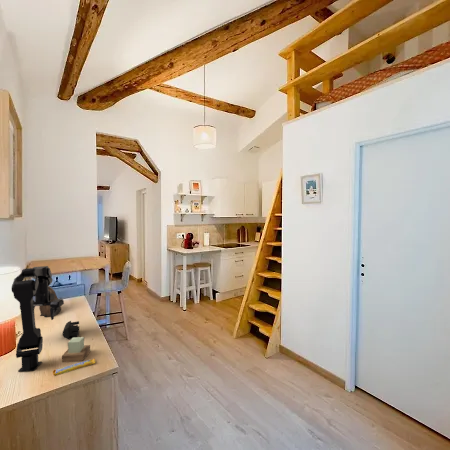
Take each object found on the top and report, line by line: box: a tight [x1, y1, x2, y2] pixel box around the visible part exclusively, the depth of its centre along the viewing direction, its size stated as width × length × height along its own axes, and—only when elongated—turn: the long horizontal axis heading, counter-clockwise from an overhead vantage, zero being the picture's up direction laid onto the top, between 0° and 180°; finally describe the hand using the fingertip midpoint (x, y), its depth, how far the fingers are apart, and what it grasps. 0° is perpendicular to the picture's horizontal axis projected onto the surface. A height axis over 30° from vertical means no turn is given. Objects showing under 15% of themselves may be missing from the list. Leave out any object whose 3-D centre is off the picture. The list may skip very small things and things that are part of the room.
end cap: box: [61, 320, 80, 340], centre depth 149 cm, size 10×7×7 cm
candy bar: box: [52, 358, 96, 376], centre depth 118 cm, size 17×4×2 cm, turn 124°
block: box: [67, 336, 85, 353], centre depth 127 cm, size 5×5×5 cm
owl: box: [38, 285, 62, 318], centre depth 179 cm, size 13×13×20 cm
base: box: [61, 344, 91, 363], centre depth 128 cm, size 9×9×3 cm
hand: (43, 320), depth 139 cm, fingers open, 9 cm apart
